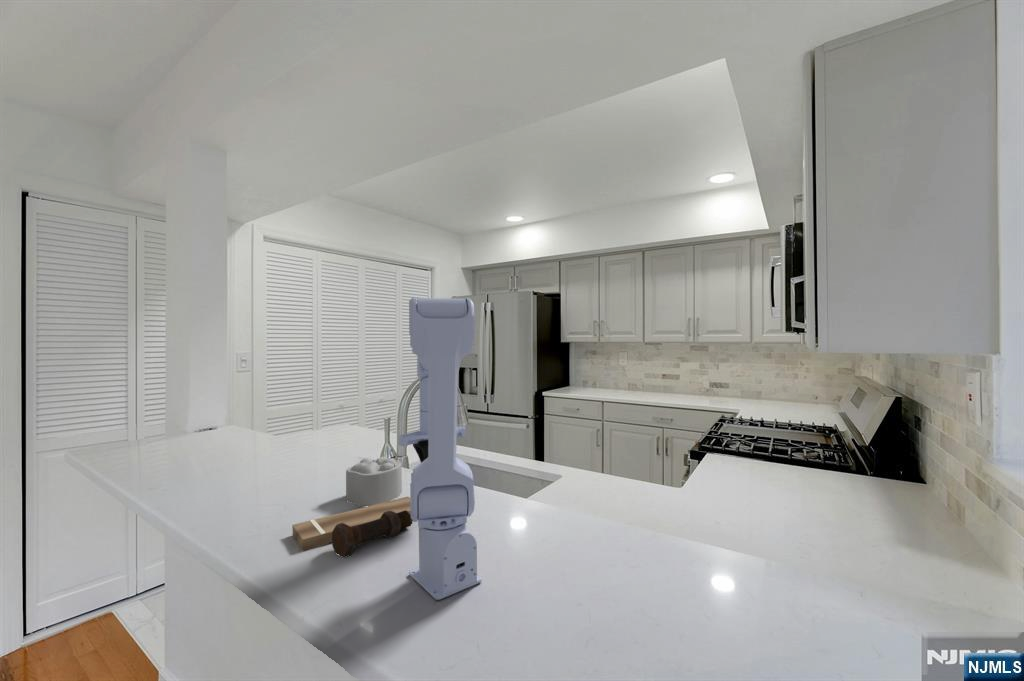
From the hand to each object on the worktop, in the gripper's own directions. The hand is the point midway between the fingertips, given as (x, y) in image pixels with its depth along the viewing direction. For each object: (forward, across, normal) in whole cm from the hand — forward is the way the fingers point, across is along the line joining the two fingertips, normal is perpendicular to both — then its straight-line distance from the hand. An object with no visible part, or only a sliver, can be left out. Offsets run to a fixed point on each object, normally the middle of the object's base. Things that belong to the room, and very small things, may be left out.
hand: (434, 475), depth 91 cm
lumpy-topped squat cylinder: (+10, +4, -22) cm, 24 cm away
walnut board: (+9, +12, -7) cm, 17 cm away
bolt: (+10, +13, +1) cm, 16 cm away
